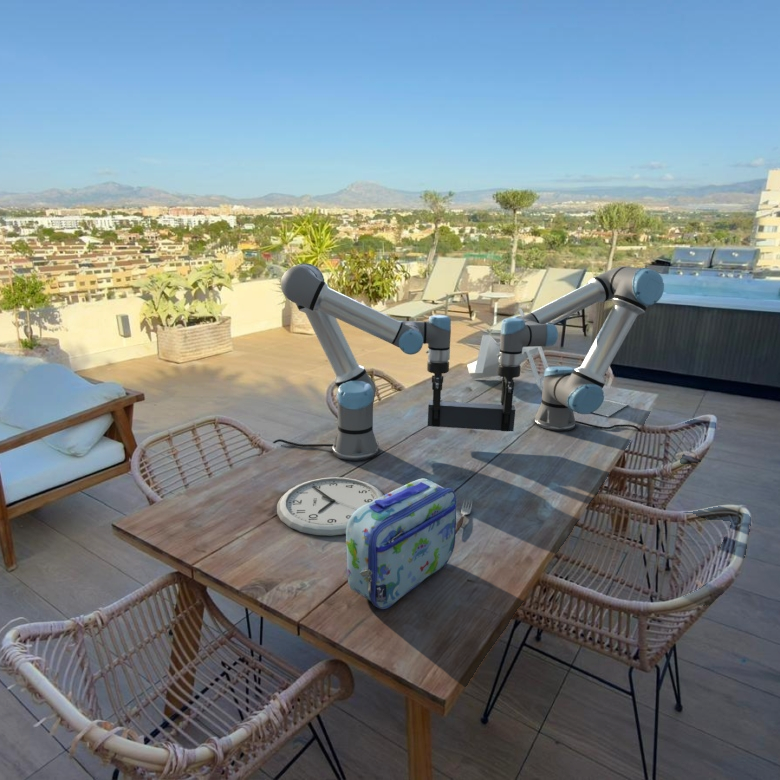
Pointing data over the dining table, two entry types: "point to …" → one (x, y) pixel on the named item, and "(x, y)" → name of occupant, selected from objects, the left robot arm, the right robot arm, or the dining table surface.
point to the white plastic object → (490, 361)
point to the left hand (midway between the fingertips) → (435, 423)
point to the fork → (464, 512)
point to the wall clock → (324, 504)
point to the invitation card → (609, 408)
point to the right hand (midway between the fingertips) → (504, 427)
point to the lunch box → (400, 540)
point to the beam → (471, 415)
